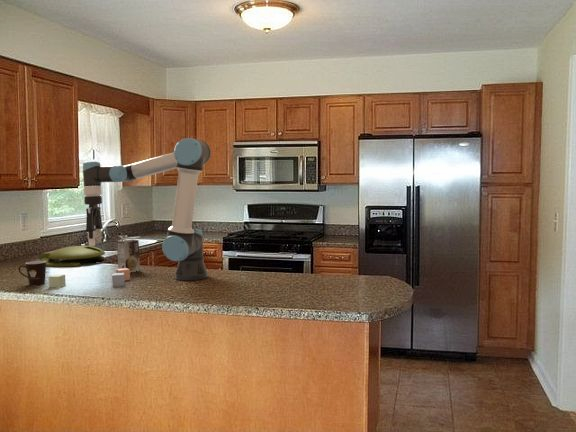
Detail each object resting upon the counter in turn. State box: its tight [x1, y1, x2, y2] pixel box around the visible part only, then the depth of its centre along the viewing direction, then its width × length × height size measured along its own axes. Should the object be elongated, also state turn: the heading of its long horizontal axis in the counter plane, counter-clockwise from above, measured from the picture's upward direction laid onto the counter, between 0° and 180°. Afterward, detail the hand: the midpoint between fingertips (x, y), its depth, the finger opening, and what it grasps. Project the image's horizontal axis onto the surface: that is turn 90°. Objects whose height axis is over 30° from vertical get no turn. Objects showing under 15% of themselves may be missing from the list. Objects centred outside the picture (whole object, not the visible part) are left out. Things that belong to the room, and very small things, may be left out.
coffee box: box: [116, 239, 141, 274], centre depth 273 cm, size 9×6×16 cm
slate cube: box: [111, 272, 125, 287], centre depth 240 cm, size 5×5×5 cm
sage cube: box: [48, 274, 67, 288], centre depth 239 cm, size 5×5×5 cm
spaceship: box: [36, 245, 106, 268], centre depth 309 cm, size 35×31×10 cm
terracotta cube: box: [115, 268, 131, 281], centre depth 253 cm, size 5×5×5 cm
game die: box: [84, 227, 105, 246], centre depth 246 cm, size 9×8×10 cm
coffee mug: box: [17, 260, 47, 286], centre depth 246 cm, size 12×9×10 cm
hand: (95, 244), depth 247 cm, fingers closed on game die, 9 cm apart
